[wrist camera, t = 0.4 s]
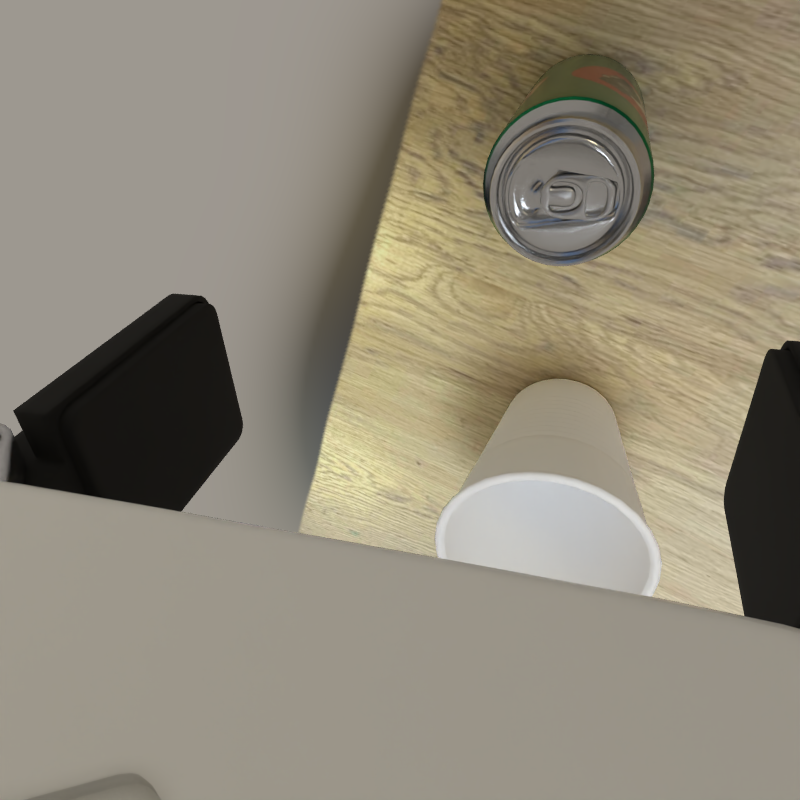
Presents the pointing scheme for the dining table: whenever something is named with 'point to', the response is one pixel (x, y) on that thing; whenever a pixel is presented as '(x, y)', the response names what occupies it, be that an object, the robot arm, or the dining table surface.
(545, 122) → the soda can
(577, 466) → the cup
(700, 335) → the dining table surface
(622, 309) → the dining table surface
